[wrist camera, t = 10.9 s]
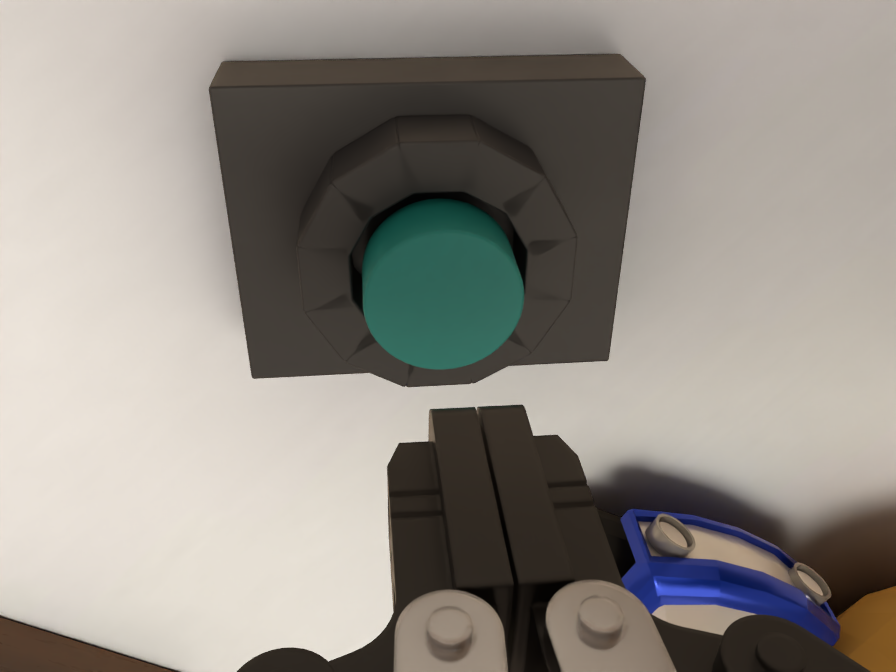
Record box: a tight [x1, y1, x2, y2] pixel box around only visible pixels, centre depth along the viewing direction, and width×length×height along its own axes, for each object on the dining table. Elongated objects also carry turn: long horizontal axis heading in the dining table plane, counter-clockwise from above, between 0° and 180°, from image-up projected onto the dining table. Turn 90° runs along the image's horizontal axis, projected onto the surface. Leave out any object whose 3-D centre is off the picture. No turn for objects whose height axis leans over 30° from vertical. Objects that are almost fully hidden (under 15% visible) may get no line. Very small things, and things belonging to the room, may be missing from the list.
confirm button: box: [362, 199, 524, 370], centre depth 19 cm, size 4×4×2 cm
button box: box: [209, 54, 646, 387], centre depth 21 cm, size 10×8×4 cm
